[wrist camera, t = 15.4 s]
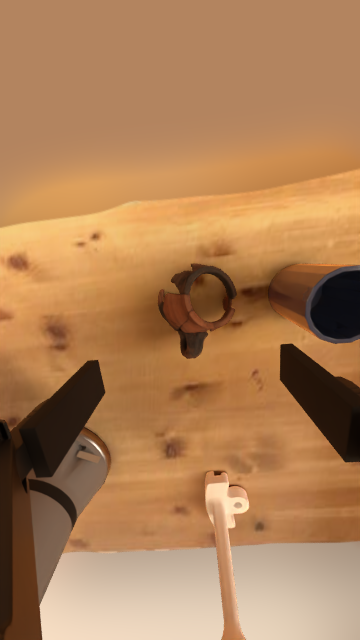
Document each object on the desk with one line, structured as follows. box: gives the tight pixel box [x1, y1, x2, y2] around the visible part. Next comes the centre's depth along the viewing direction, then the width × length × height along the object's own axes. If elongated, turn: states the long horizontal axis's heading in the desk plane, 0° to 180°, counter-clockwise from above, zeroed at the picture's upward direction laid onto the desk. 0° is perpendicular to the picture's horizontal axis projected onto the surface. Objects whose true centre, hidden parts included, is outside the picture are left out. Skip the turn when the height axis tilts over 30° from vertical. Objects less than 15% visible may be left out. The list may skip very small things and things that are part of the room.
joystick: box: [205, 471, 249, 640], centre depth 30 cm, size 11×8×20 cm
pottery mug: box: [158, 264, 237, 359], centre depth 28 cm, size 12×10×8 cm
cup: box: [268, 264, 360, 344], centre depth 24 cm, size 7×7×10 cm
